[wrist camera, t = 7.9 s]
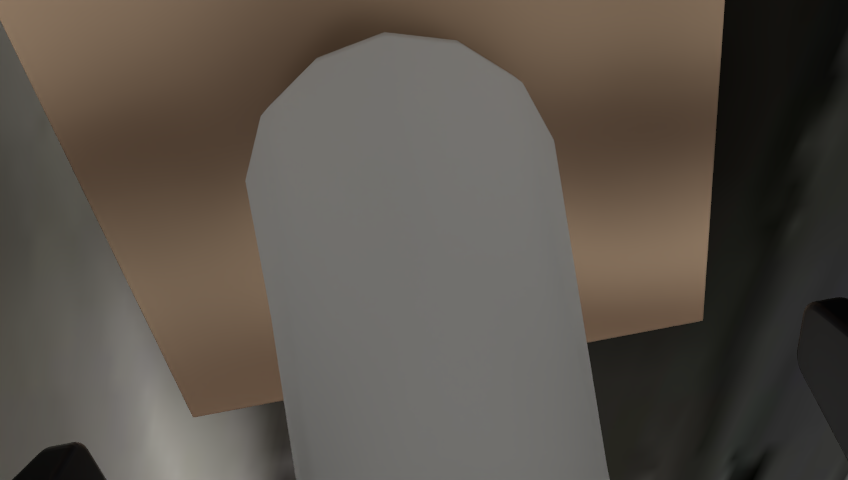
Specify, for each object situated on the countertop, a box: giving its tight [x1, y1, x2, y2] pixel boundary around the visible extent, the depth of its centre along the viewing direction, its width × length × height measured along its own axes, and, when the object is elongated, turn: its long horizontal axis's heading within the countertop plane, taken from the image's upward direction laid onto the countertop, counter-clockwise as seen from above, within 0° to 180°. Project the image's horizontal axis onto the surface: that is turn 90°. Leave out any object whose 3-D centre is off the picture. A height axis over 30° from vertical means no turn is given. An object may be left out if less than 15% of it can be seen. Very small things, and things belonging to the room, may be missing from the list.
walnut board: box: [0, 0, 725, 417], centre depth 16 cm, size 14×14×1 cm
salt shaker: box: [245, 32, 610, 480], centre depth 10 cm, size 6×6×13 cm
